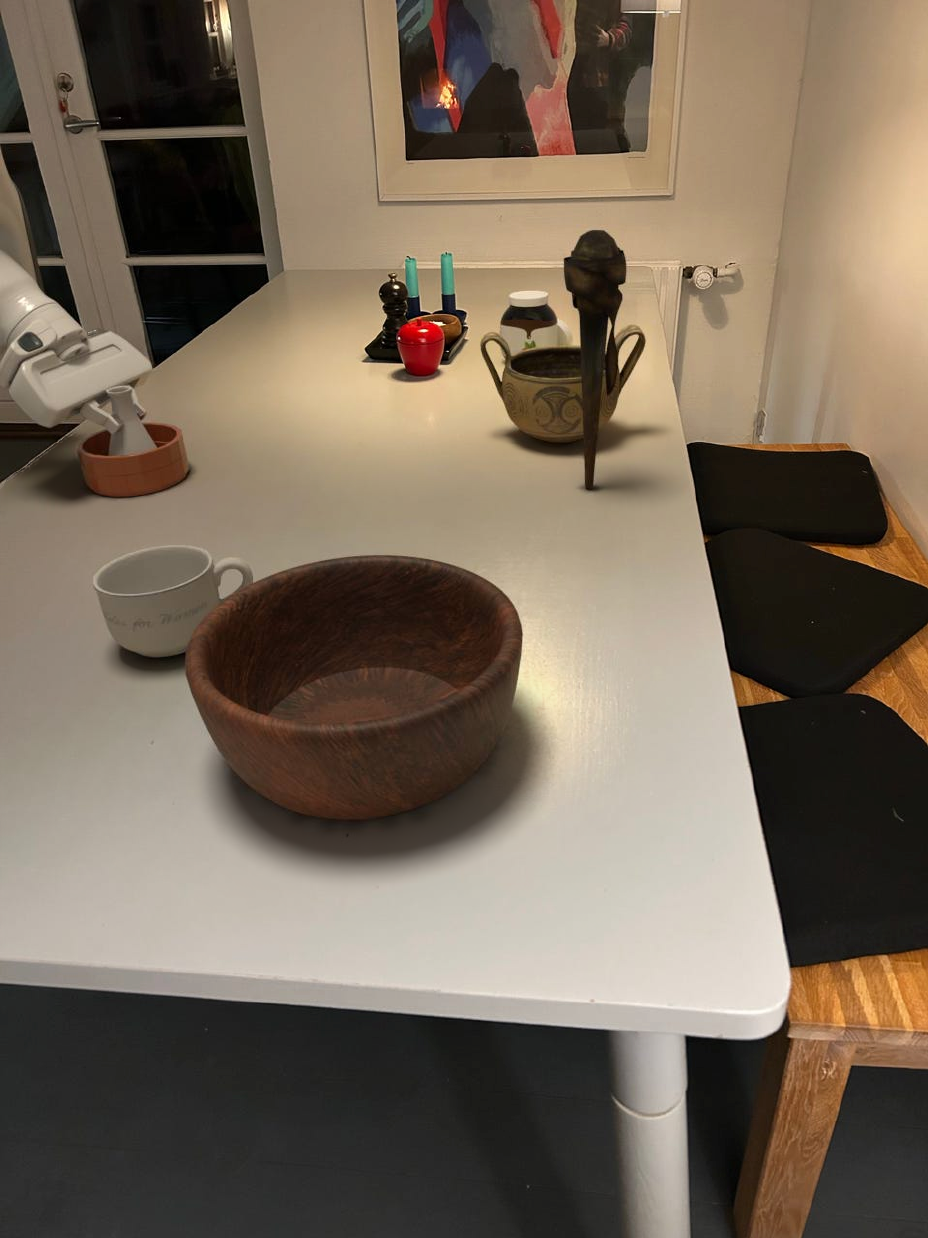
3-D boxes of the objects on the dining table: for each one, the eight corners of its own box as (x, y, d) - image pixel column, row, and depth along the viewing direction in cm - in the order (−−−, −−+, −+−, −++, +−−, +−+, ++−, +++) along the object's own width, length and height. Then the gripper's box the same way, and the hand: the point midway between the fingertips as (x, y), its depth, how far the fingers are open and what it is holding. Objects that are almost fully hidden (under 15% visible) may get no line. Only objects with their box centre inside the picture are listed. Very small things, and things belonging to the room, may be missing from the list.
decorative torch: (577, 502, 111) (584, 237, 96) (552, 483, 117) (554, 230, 101) (626, 492, 113) (640, 231, 98) (599, 474, 119) (608, 224, 103)
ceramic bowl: (632, 415, 138) (638, 312, 130) (646, 456, 123) (653, 343, 115) (484, 418, 139) (481, 317, 131) (481, 460, 125) (477, 348, 117)
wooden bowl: (521, 650, 84) (520, 549, 78) (527, 850, 62) (526, 730, 57) (251, 654, 85) (232, 555, 80) (166, 851, 63) (132, 734, 58)
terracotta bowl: (72, 499, 119) (60, 459, 116) (107, 461, 130) (98, 424, 127) (174, 495, 118) (165, 455, 116) (200, 458, 130) (193, 420, 127)
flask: (173, 460, 123) (157, 387, 118) (123, 476, 119) (105, 401, 114) (147, 448, 128) (131, 377, 122) (98, 463, 123) (79, 390, 118)
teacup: (97, 674, 83) (74, 597, 79) (130, 613, 92) (111, 542, 88) (250, 666, 83) (235, 589, 79) (268, 606, 92) (256, 534, 88)
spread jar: (496, 366, 164) (494, 298, 158) (513, 349, 173) (512, 285, 167) (562, 369, 160) (562, 300, 154) (575, 352, 169) (577, 286, 163)
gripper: (95, 341, 128) (168, 413, 130) (-17, 383, 112) (68, 466, 114) (114, 309, 125) (188, 385, 127) (0, 348, 109) (88, 434, 110)
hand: (130, 424), depth 120 cm, fingers closed on flask, 3 cm apart
